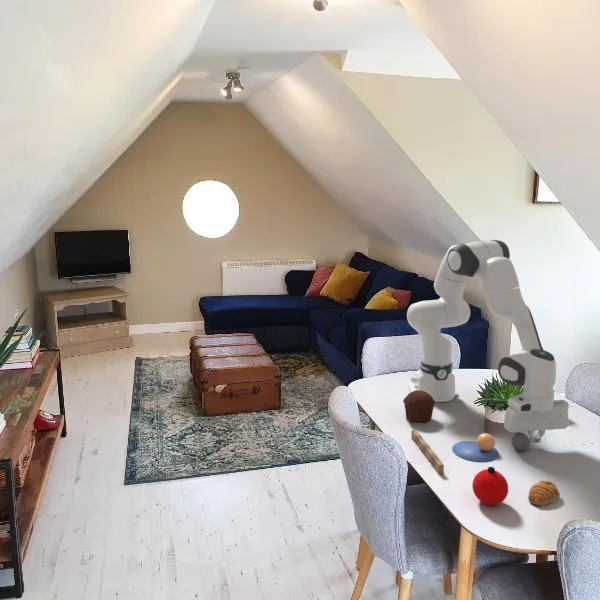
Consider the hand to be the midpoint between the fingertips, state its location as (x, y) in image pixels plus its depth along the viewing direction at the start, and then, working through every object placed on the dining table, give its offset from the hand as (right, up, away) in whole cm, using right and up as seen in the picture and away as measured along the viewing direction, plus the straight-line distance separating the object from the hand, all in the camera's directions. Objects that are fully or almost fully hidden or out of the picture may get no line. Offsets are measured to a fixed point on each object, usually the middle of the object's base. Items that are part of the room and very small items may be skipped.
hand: (534, 442), depth 180 cm
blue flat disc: (-20, -2, -2) cm, 20 cm away
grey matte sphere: (-5, +1, -2) cm, 6 cm away
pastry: (-10, -8, -29) cm, 31 cm away
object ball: (-16, +1, -2) cm, 17 cm away
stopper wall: (-36, -3, -4) cm, 36 cm away
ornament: (-25, -8, -31) cm, 40 cm away
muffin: (-32, +2, +23) cm, 40 cm away
